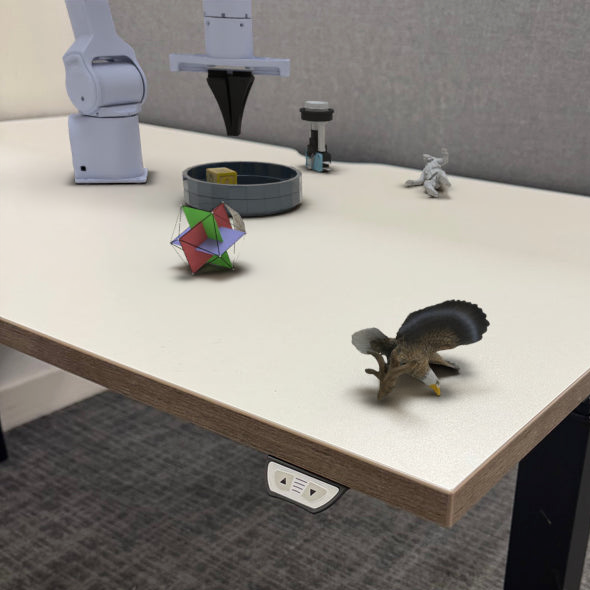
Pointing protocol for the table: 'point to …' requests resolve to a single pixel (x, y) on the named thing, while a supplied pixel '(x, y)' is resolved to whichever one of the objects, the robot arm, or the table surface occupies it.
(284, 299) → the table surface
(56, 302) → the table surface
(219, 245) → the geometric puzzle
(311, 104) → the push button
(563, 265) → the table surface
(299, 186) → the bowl
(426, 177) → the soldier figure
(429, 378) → the eagle figurine
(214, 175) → the alphabet block
